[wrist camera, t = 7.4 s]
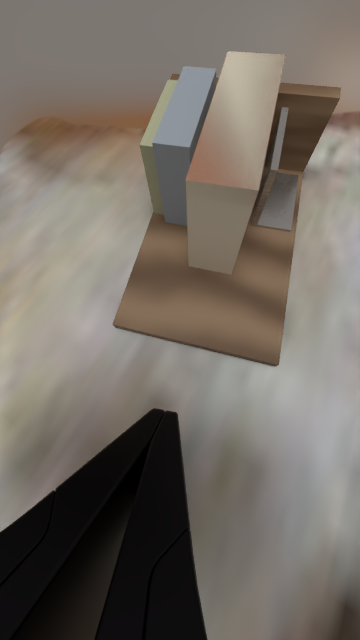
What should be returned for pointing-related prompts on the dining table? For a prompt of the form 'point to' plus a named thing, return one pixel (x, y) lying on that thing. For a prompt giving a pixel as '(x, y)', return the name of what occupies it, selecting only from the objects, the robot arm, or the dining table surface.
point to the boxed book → (230, 158)
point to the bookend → (275, 187)
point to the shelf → (250, 266)
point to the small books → (176, 139)
